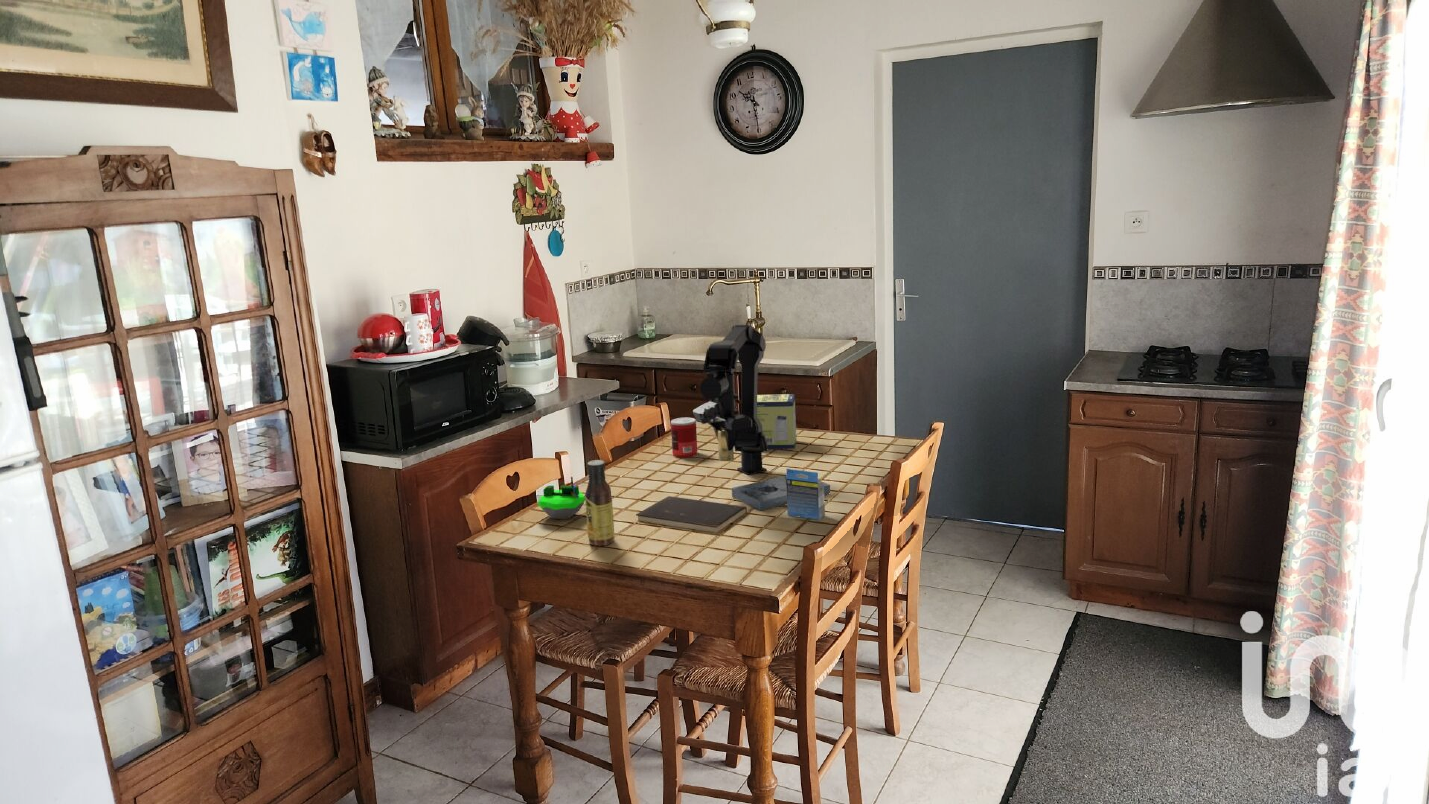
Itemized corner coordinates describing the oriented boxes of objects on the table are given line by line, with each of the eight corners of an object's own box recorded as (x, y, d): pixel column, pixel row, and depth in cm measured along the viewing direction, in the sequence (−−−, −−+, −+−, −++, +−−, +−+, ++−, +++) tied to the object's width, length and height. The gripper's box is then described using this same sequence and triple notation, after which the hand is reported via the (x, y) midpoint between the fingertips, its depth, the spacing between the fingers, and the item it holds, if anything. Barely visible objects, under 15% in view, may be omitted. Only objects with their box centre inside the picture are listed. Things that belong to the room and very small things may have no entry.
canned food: (702, 452, 296) (700, 418, 293) (688, 459, 289) (686, 424, 287) (682, 450, 300) (680, 416, 298) (667, 456, 293) (665, 422, 291)
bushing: (716, 458, 252) (714, 429, 251) (729, 456, 254) (727, 427, 252) (723, 462, 249) (722, 432, 247) (736, 459, 251) (735, 430, 249)
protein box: (748, 441, 307) (747, 394, 304) (796, 440, 305) (795, 393, 301) (745, 449, 297) (743, 401, 294) (795, 449, 295) (793, 400, 291)
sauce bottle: (589, 538, 226) (582, 458, 222) (615, 536, 226) (609, 456, 222) (587, 548, 220) (581, 466, 215) (614, 546, 220) (608, 464, 216)
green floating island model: (591, 511, 246) (589, 470, 244) (576, 525, 235) (573, 483, 233) (548, 509, 249) (545, 469, 247) (531, 524, 238) (528, 481, 235)
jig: (732, 496, 252) (731, 485, 251) (799, 481, 262) (799, 470, 261) (760, 510, 240) (760, 499, 239) (830, 493, 250) (830, 482, 250)
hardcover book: (716, 535, 226) (716, 526, 225) (636, 522, 237) (635, 514, 236) (747, 514, 239) (746, 505, 239) (670, 503, 250) (669, 495, 250)
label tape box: (825, 515, 234) (824, 468, 231) (819, 520, 231) (818, 472, 228) (793, 511, 238) (792, 464, 236) (786, 516, 235) (784, 468, 232)
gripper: (680, 389, 252) (683, 446, 255) (714, 401, 236) (716, 461, 239) (716, 384, 257) (719, 439, 260) (752, 395, 241) (754, 454, 244)
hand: (726, 448), depth 251 cm, fingers closed on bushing, 4 cm apart
